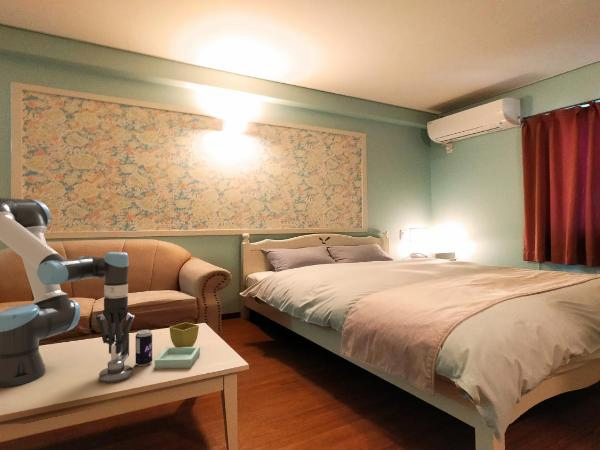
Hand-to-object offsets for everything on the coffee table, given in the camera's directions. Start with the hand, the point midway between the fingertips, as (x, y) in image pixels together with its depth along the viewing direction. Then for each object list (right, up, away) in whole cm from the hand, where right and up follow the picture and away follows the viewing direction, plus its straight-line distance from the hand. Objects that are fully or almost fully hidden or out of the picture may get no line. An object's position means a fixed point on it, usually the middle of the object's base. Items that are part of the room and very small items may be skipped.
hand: (114, 362), depth 124 cm
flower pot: (+17, -3, +23) cm, 29 cm away
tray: (+20, -3, +8) cm, 22 cm away
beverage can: (+8, -3, +6) cm, 10 cm away
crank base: (+3, -3, -5) cm, 7 cm away
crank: (+2, -1, -1) cm, 2 cm away
